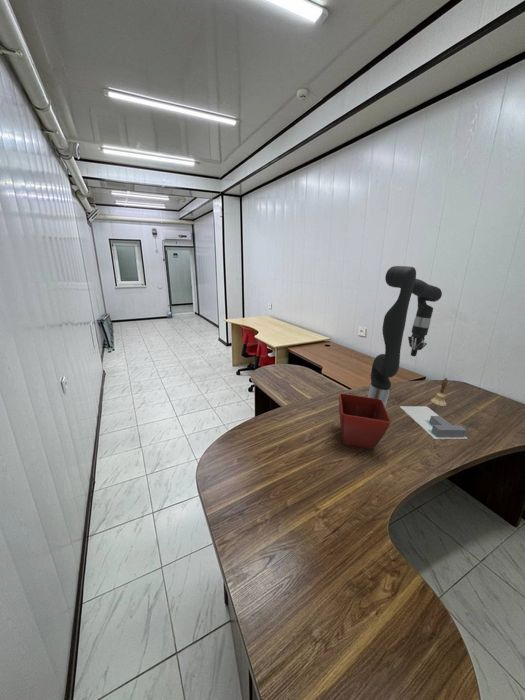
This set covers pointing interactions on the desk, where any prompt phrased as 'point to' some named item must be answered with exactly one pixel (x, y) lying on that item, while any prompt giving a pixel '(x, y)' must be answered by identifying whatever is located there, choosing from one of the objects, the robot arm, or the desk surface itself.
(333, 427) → the desk surface
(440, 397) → the hand bell
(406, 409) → the runner mat
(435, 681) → the desk surface
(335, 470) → the desk surface
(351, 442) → the plant pot
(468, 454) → the desk surface
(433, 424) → the t block
